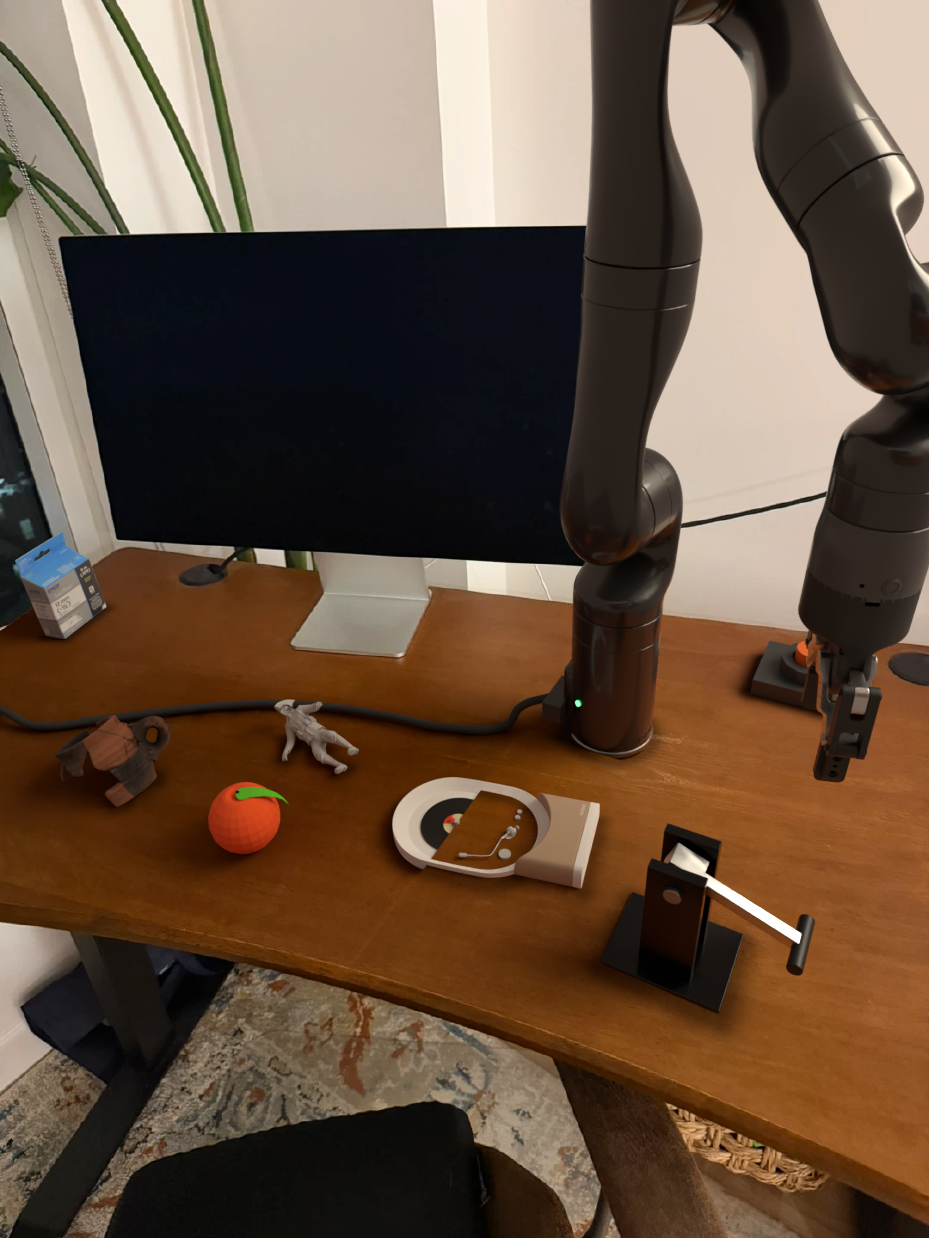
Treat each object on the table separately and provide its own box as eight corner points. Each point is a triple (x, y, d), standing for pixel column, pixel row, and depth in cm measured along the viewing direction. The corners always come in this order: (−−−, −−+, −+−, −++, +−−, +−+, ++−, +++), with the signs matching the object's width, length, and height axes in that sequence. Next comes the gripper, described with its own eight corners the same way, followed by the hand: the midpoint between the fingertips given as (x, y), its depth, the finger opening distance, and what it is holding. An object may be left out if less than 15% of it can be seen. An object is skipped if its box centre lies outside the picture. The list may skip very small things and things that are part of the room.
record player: (579, 882, 75) (372, 839, 81) (578, 905, 77) (376, 861, 83) (602, 791, 85) (415, 758, 90) (601, 813, 86) (417, 779, 92)
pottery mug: (92, 828, 89) (44, 767, 87) (93, 806, 98) (49, 749, 95) (193, 760, 92) (148, 698, 90) (185, 743, 101) (144, 687, 99)
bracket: (742, 942, 73) (763, 840, 66) (717, 1020, 67) (738, 917, 60) (631, 899, 77) (640, 799, 70) (599, 969, 72) (605, 867, 65)
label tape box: (65, 640, 119) (36, 564, 112) (42, 636, 120) (12, 560, 113) (108, 608, 125) (83, 534, 119) (86, 604, 127) (60, 530, 120)
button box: (750, 694, 101) (754, 667, 99) (767, 654, 108) (771, 628, 105) (848, 719, 96) (855, 692, 94) (860, 676, 103) (866, 649, 101)
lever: (806, 930, 67) (822, 916, 65) (793, 981, 63) (810, 968, 62) (670, 845, 69) (683, 829, 68) (651, 889, 66) (663, 874, 64)
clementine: (297, 810, 89) (286, 760, 85) (295, 861, 83) (283, 810, 79) (219, 821, 88) (205, 771, 84) (212, 873, 82) (196, 822, 79)
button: (791, 665, 100) (794, 653, 99) (797, 649, 102) (800, 637, 101) (824, 673, 98) (826, 661, 97) (829, 656, 101) (832, 644, 100)
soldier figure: (320, 796, 92) (244, 731, 96) (340, 794, 97) (266, 732, 100) (360, 737, 92) (282, 674, 96) (378, 738, 96) (302, 678, 100)
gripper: (798, 516, 65) (765, 682, 75) (821, 618, 54) (778, 799, 63) (903, 523, 64) (856, 691, 73) (949, 628, 52) (887, 812, 62)
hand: (820, 741), depth 68 cm, fingers open, 8 cm apart
